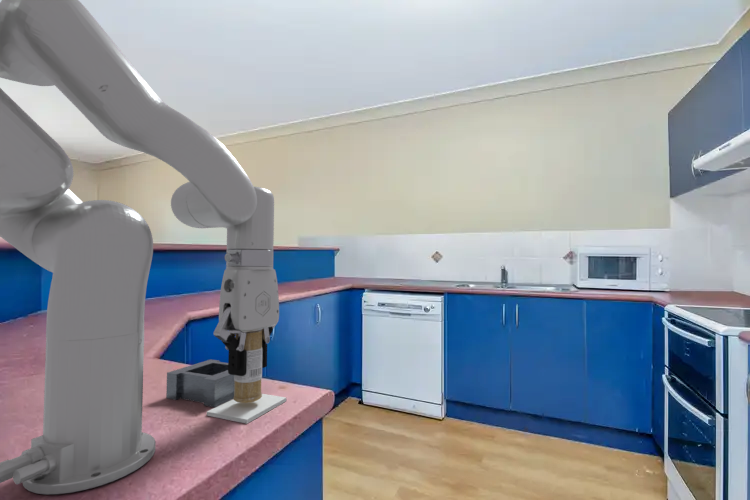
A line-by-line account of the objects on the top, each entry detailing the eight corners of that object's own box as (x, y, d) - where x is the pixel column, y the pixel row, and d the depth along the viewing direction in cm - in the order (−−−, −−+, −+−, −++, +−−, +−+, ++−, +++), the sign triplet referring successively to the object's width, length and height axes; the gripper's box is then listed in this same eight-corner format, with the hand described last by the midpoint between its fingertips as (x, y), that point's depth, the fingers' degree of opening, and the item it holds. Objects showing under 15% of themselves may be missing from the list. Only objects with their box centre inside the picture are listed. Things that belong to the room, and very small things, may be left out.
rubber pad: (246, 423, 56) (247, 419, 56) (206, 415, 59) (206, 411, 59) (286, 401, 66) (286, 397, 66) (249, 394, 69) (249, 391, 69)
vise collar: (214, 407, 63) (214, 380, 63) (166, 398, 67) (166, 372, 67) (254, 388, 72) (255, 365, 72) (210, 381, 76) (210, 359, 76)
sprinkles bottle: (255, 392, 66) (257, 315, 66) (266, 399, 62) (267, 318, 62) (229, 398, 63) (230, 317, 63) (238, 406, 59) (240, 320, 60)
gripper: (231, 260, 54) (228, 388, 53) (297, 261, 70) (296, 361, 69) (192, 260, 57) (189, 382, 56) (264, 261, 72) (262, 357, 72)
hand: (248, 369), depth 63 cm, fingers closed on sprinkles bottle, 4 cm apart
